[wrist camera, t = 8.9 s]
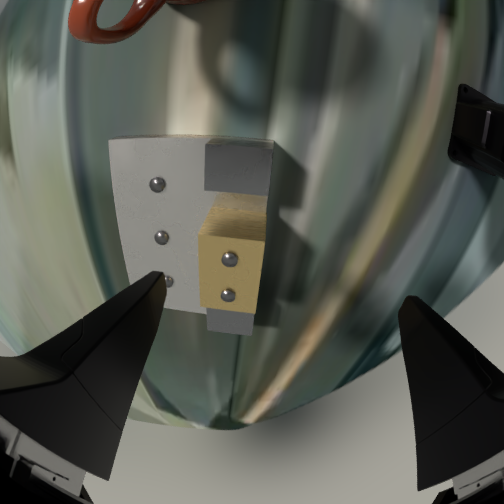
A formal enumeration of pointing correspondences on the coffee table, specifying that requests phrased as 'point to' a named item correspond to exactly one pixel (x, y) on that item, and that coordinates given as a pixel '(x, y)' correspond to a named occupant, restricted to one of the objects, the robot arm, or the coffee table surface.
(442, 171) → the coffee table surface
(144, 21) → the mug
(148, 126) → the coffee table surface
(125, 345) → the robot arm
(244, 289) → the block
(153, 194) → the steel hinge plate
